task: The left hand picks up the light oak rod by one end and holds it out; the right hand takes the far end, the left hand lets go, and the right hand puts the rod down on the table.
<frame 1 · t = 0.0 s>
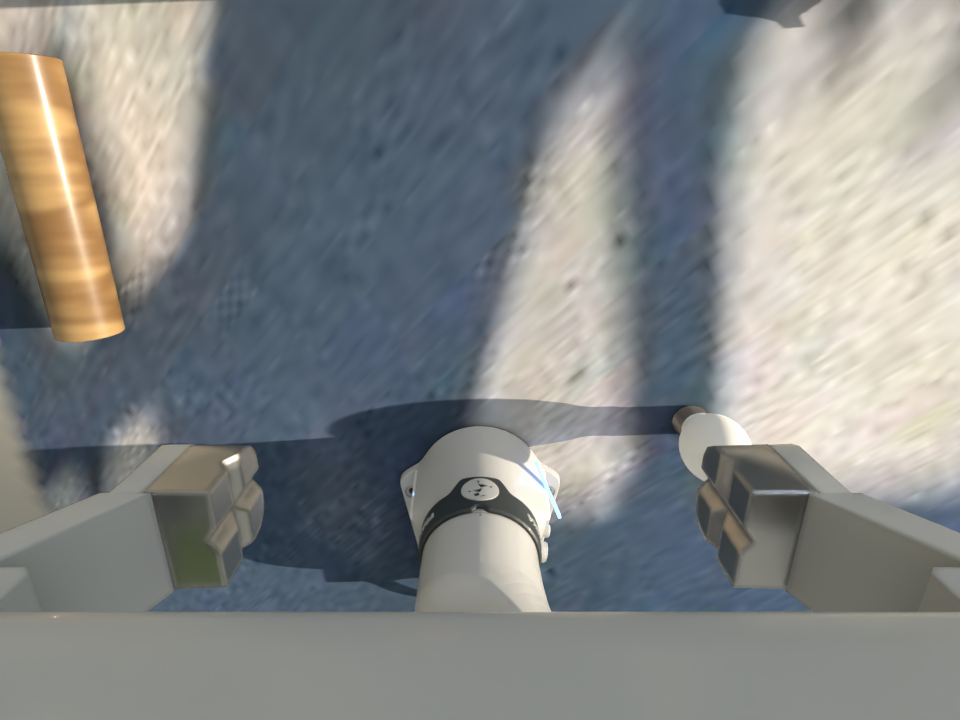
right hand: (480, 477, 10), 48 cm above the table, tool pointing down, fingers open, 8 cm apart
light bulb: (690, 418, 63), on the table
rod: (79, 204, 55), on the table
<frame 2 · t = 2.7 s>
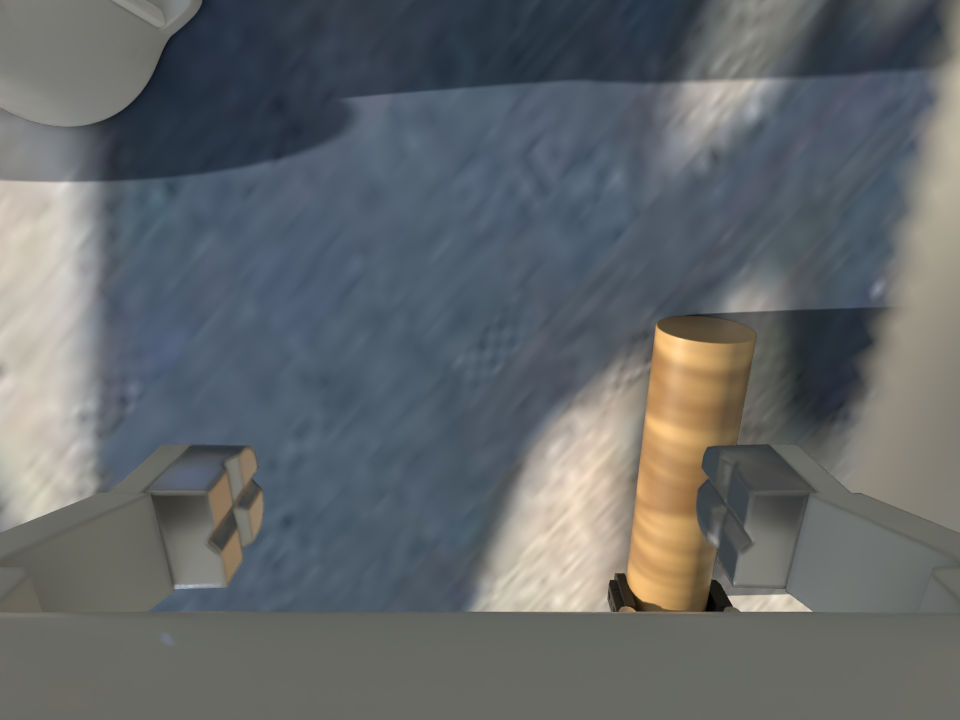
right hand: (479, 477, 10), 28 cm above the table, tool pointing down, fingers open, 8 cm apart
rod: (667, 470, 43), on the table, touching left hand
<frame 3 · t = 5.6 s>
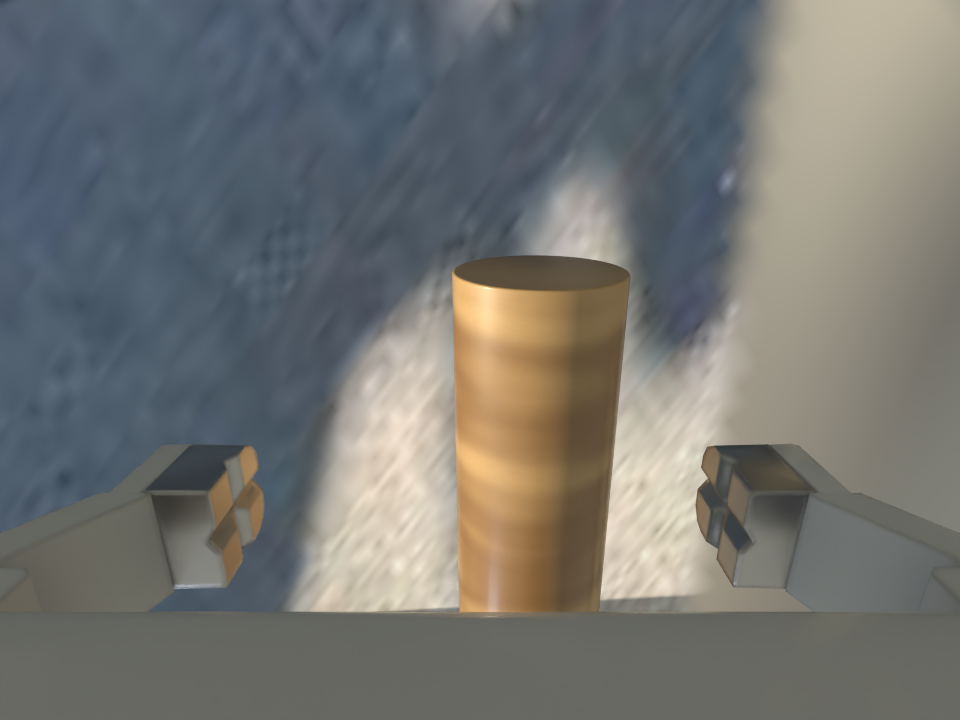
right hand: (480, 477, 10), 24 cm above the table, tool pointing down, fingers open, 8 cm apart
rod: (522, 518, 26), point 11 cm above the table, touching left hand
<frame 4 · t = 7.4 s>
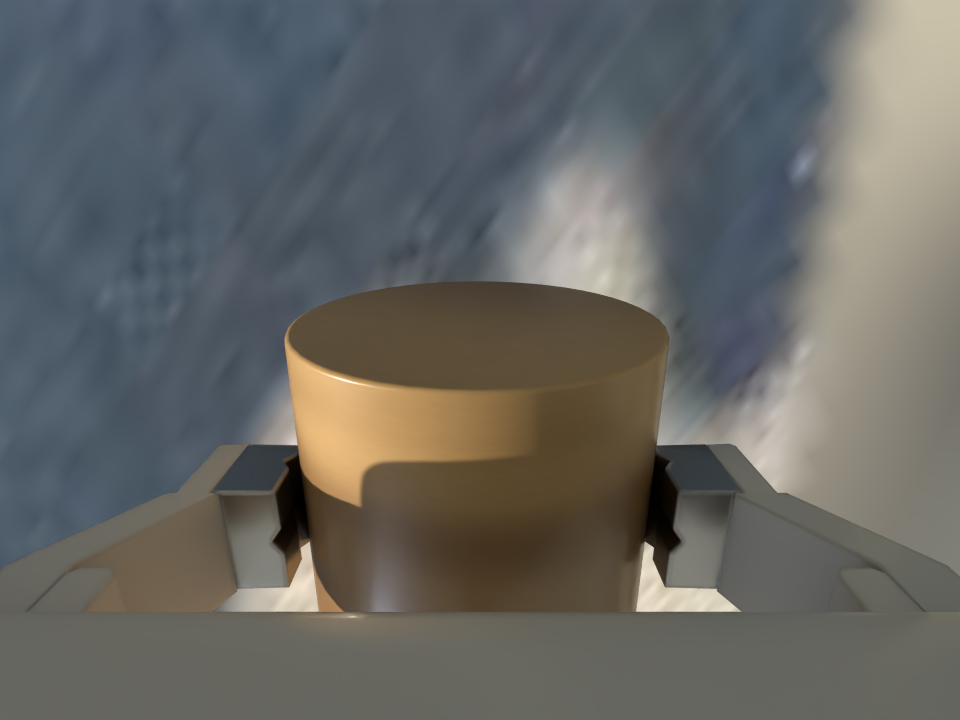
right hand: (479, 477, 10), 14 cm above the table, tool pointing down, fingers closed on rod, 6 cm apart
rod: (478, 701, 16), point 11 cm above the table, touching right hand, left hand
when the left hand's fingers open (13 cm above the table, at t = 8.6 s): rod moves 1 cm, held by the right hand.
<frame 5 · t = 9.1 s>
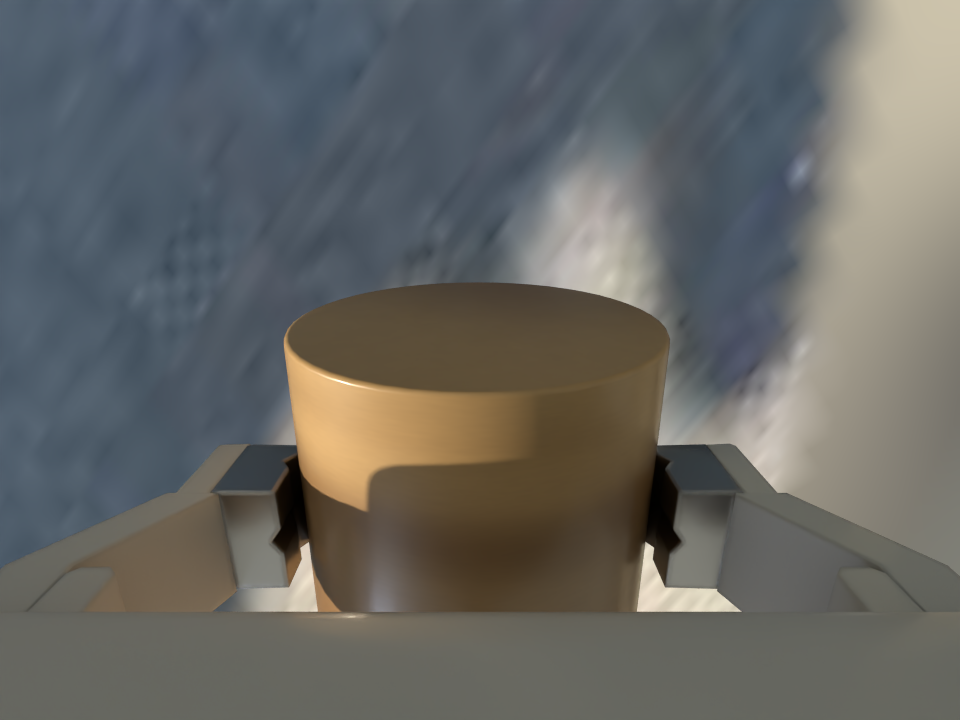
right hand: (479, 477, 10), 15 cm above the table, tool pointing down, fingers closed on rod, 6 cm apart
rod: (478, 702, 16), point 12 cm above the table, touching right hand
when the right hand's fingers open (4 cm above the table, at t = 13.8 s): rod stays where it is, on the table.
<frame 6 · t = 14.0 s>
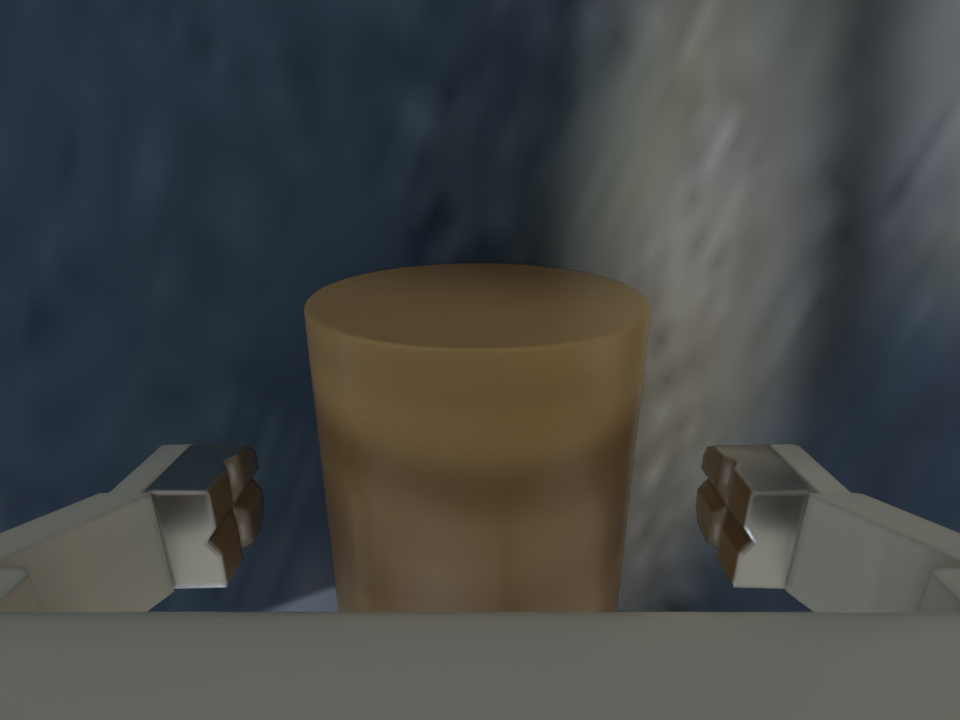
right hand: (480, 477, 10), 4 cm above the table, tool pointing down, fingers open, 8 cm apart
rod: (477, 662, 17), on the table
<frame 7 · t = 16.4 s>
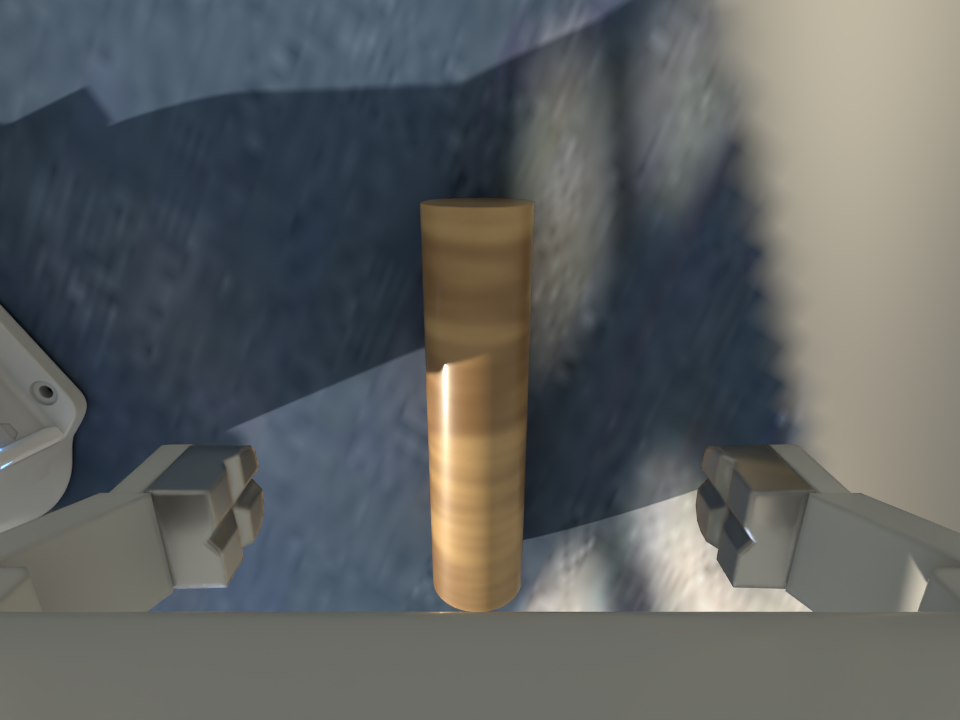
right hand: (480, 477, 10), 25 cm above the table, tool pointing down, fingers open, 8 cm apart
rod: (477, 394, 36), on the table
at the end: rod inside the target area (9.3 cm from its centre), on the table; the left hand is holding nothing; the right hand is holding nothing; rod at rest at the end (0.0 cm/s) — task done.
